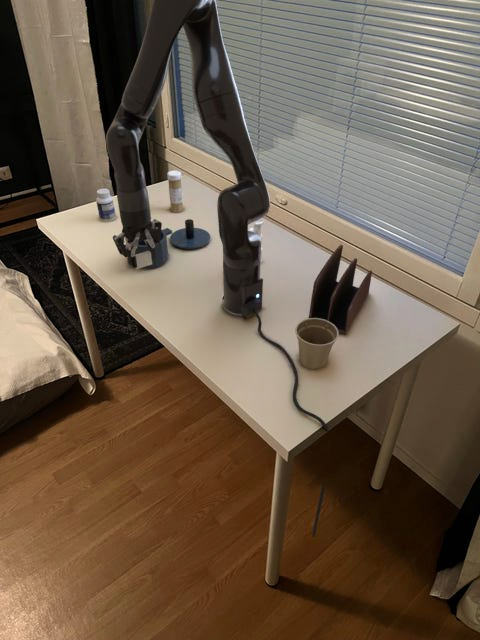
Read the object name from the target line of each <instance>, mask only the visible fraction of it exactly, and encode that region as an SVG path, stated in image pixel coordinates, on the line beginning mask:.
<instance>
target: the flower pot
mask: <svg viewBox="0 0 480 640" xmlns="http://www.w3.org/2000/svg"><path fill="white" fill-rule="evenodd" d="M294 332H295V335H296V338H297V342H298V343H297V344H298V360H299V362H300V363H301V364H302V366H303V367H306V368H308V369H312V370H317V369H319V368H323V367H324V366H325V365H326V364H327V362H328V358H329V356H330V352H331V350H332V348H333V346H334V344H335V343H336V341H338V338H339V334H340V333H339V332H338V329H337V328H336V326H335V325H333V324H332V323H331V322H329V321H327V320H324V319H319V318H309V317H308V318H305V319H303V320H301V321H299V322H298V323H297V324H296V325H295V329H294Z"/></svg>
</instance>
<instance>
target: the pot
mask: <svg viewBox="0 0 480 640" xmlns="http://www.w3.org/2000/svg"><path fill="white" fill-rule="evenodd" d="M172 233H173V229H170V228H169V227H166V228H163V229H161V239H160V243H159V244H156V245H155V247H154V248H155V257H154V260H153V261H152V265H148V266H145V267H142V268H139V269H138V270H152V269H157V268H160V267H162V266H164V265H165V264H167V262H168V260H169V246H168V238H167V237H168V236H169V235H170V236H171V234H172ZM150 235H151V236H152V228H151V231H150ZM124 241H125V242H126V237H125V238H124ZM132 243H133V242H132ZM124 245H125V247H126V244H124ZM146 246H147V245H146V243H145V241H141V242H139V243H138V246H137V249H136V250H135V255H136V254H140V253H143V252H146V251H147V249H146Z"/></svg>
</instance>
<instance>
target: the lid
mask: <svg viewBox="0 0 480 640" xmlns="http://www.w3.org/2000/svg"><path fill="white" fill-rule="evenodd" d="M194 222H195V221H194V220H193V219H191V218H189V219H185V221H184V224H185V225H184V227H183V228H180V229H177V230H175V231H173V232H172V234H170V236H169V241H170V243H171V244H172V245H173V246H174V247H177V248H180V249H185V250H193V249H199V248H203V247H204V246H206V245H208V244H209V242H210V241H211V234H210V233H209V232H208V230H206V229H203V228H200V227H195V224H194Z"/></svg>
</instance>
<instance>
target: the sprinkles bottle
mask: <svg viewBox="0 0 480 640" xmlns="http://www.w3.org/2000/svg"><path fill="white" fill-rule="evenodd" d="M166 175H167V180H168V194H169V202H170V211H171V212H173V213H180V212H183V211H184V209H185V208H184V197H183V196H184V195H183V185H182V172H181V171H179V170H170V171H168V172H167V174H166Z"/></svg>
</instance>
